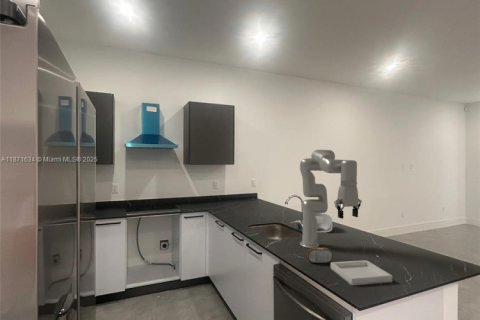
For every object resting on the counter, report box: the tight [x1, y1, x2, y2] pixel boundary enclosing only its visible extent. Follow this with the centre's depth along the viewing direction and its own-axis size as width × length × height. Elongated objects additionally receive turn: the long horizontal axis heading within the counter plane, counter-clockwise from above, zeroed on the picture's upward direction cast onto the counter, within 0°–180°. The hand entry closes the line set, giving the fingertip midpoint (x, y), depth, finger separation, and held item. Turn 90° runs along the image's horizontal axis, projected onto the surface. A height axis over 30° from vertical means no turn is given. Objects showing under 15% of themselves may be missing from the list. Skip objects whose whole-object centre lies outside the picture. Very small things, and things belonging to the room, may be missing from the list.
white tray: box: [330, 259, 393, 286], centre depth 124 cm, size 18×22×3 cm
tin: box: [305, 246, 334, 264], centre depth 139 cm, size 15×3×8 cm, turn 92°
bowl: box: [314, 213, 333, 233], centre depth 206 cm, size 20×19×12 cm
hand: (347, 217), depth 124 cm, fingers open, 9 cm apart
